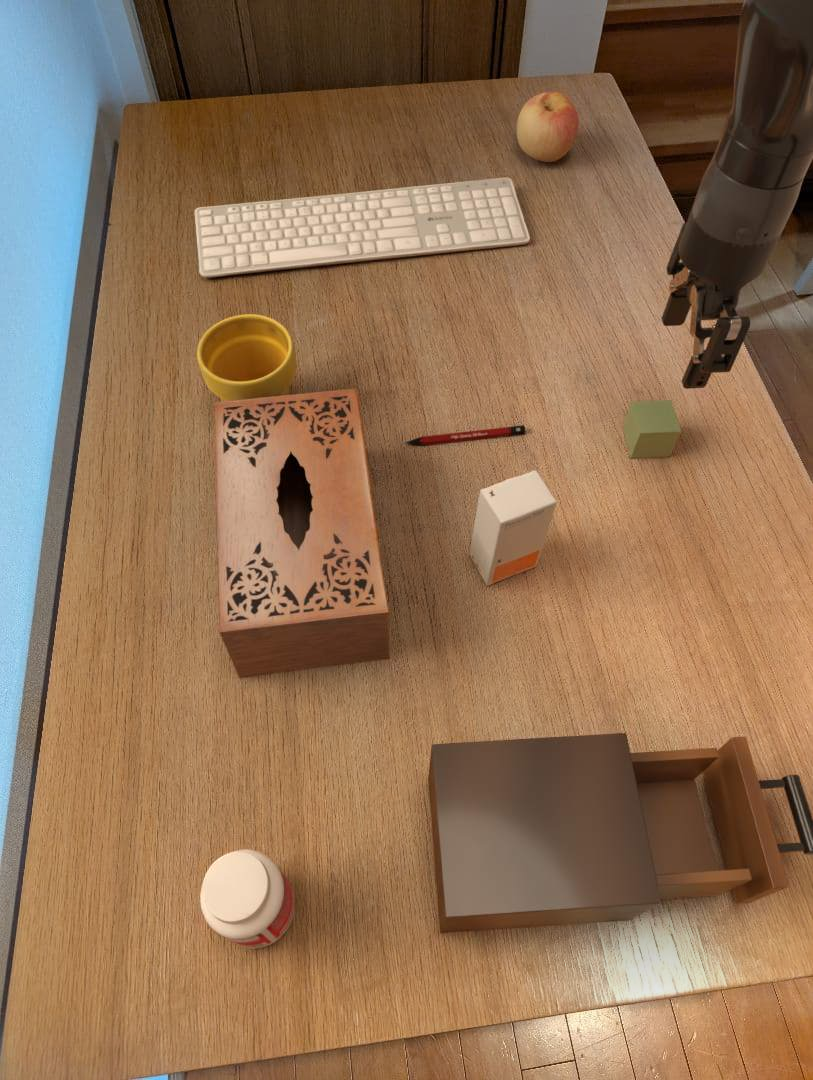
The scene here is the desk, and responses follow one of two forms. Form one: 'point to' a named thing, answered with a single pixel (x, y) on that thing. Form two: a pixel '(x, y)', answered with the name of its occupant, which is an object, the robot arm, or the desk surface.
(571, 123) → the apple
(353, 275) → the desk surface
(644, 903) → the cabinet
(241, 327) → the flower pot
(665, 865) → the drawer
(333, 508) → the tissue box cover
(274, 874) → the pill bottle
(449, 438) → the pencil
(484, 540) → the cosmetic box
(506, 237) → the keyboard
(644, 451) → the block
